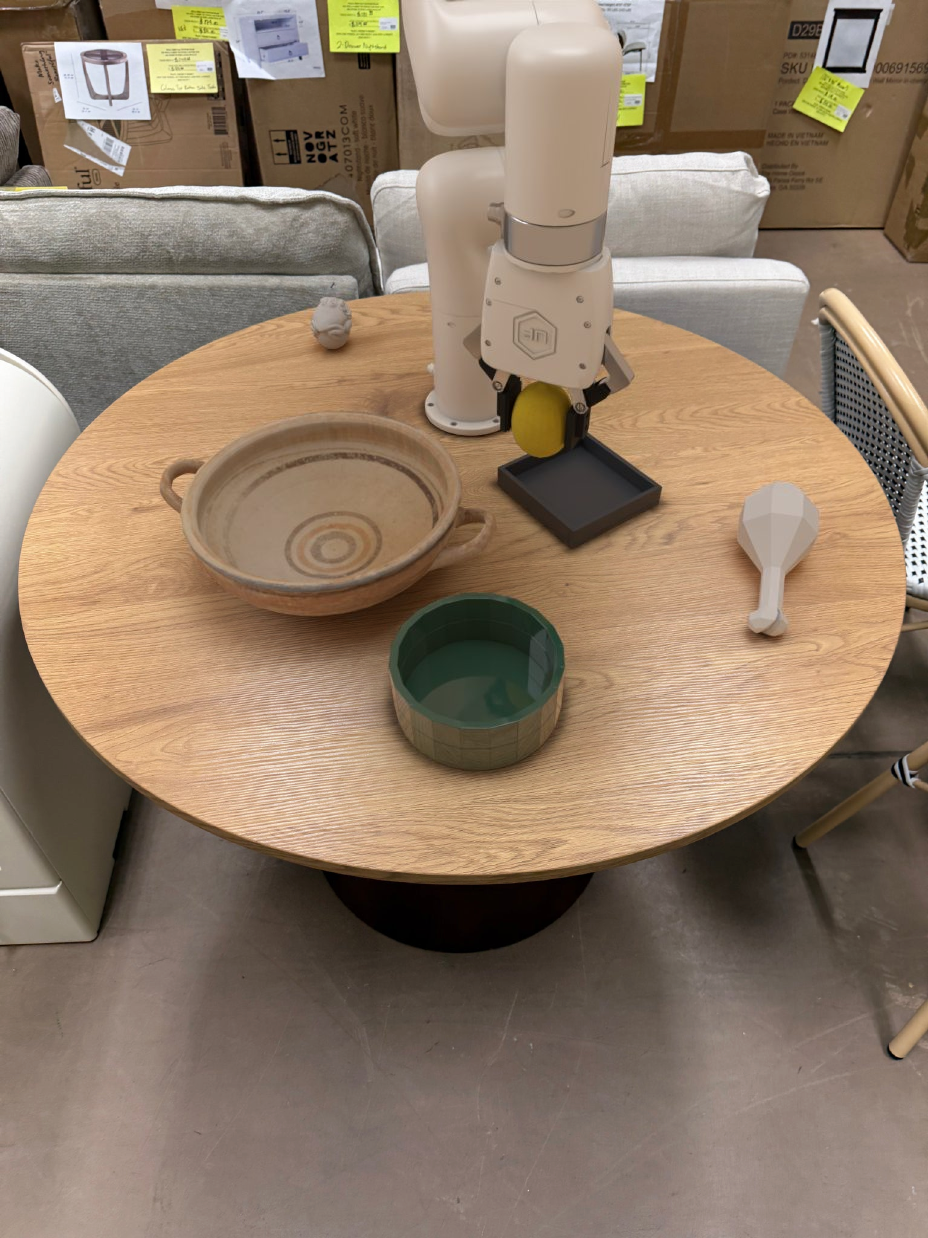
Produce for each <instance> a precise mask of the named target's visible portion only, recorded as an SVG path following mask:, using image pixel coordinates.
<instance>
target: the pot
mask: <svg viewBox="0 0 928 1238" xmlns="http://www.w3.org/2000/svg"><path fill="white" fill-rule="evenodd" d="M391 642H392V643H391V644H390V649H389V658H388V672H389V673H388V675H389V679H390V687H391V693H392V700H393V707H394V710H395V713H396V717H397V721H398V724H399V727H400V729H401V730H402V732H403V734H404V735H405V737H406V739H407V740H408V741H409V742H410V744H412V745H413V747H415V748H416V749H417V750H418V751H419V752H420V753H421V754H423V755H424V756H426V757H428V758H429V759H430V760H433V761H435V762H437V763H439V764H441V765H444V766H448V767H450V768H455V769H460V770H464V771H465V770H467V771H489V770H496V769H500V768H504V767H507V766H511V765H514V764H516V763H519V762H520V761H522V760H525V759H526V758H528V757H529V756H531V755H532V754H533V753H535V752H536V751H537V750H539V749H540V748H541V747H542V746H543V745H544V744H545V743H546V741H547V740H548V739H549V738H550V736H551V735H552V733H553V731H554V729H555V728H556V725H557V722H558V721H559V716H560V712H561V709H562V703H563V695H564V685H565V675H566V656H565V655H566V654H565V645H564V643H563V642H562V639H561V637H560V635H559V633H558V631H557V629H556V627H555V626H554V624H553V623H551V622H550V621H549V619H547V618H546V617H545V615H543V614H542V613H541V612H540V611H539V610H538V609H537V608H534V607H532V606H531V605H529V604H527V603H525V602H523V601H521V600H519V599H517V598H514V597H511V596H506V595H501V594H497V593H493V592H463V593H458V594H454V595H450V596H449V595H448V596H445V597H440V598H439V599H436V600H435V601H433V602H431V603H429V604H427V605H425V606H423V607H421V608H419V609H418V610H416V611H415V612H414V613H413V614H412V615H410V617H409V618H408V619H406V620H405V622H404V623H402V624H401V626H400V627H399V630H398V631H397V633H396V635H395V637H394V638H393V640H392V641H391Z"/></svg>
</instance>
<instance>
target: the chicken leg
mask: <svg viewBox="0 0 928 1238" xmlns="http://www.w3.org/2000/svg"><path fill="white" fill-rule="evenodd" d="M737 525H738V526H737V533H736V536H737V537H736V541H737V543H738V544H739V545H740V547H741V548H742V549H743V550H744V552H745V553H746V555H747V556H748V557H749V559H750V560H751V562H752V563H753V565H754V566H755V567H756V569H757V570H758V571H759V572H760V574H761V575H760V584H759V596H758V606H757V609H755V610H753V611H752V612H750V613H749V614H748V617H747V624H746V625H747V628H748V629H749V630H751V631H752V632H753V633H755V634H758V633H762V634H765V635H768V636H772V637H776V636H779V635H782V634H784V633H786V632H787V630H788V627H789V621H788V617H787V616H786V615H785V614H784V612H783V604H784V593H785V592H784V590H785V578H786V576H787V575H788V574H789V573H790V572H791V571H792V570H793V569H794V568H795V567H796V566H798V564H799V563H801V561H803V560H804V559H805V558H807V556H808V555H809V554H810V553H811V552H812V550H813V548H814V545H815V543H816V541H817V538H818V536H819V533H820V532H819V529H820V509H819V508H818V507H817V506H816V504H814V503H813V501H812V500H811V499H810V498H809V497H808V496H807V495H806V493H805V492H804V491H803V490H802V489H800V488H799V486H798V485H796V484H795V483H793V482H787V481H781V480H780V481H779V480H776V481H773V482H772V483H768V484H765V485H762V486H761V487H760V488H758V489H757V490H755V491H754V492H753V493H751V494H749V495H748V496H746V497H745V498H744V501H743V505H742V508H741V510H740V514H739V517H738V524H737Z"/></svg>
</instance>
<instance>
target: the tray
mask: <svg viewBox="0 0 928 1238" xmlns="http://www.w3.org/2000/svg"><path fill="white" fill-rule="evenodd" d="M496 480H497V481H496V482H497V485H498V486H499V487H500V488H501V489H502V490H503V491H505V492H506V493H507V494H508V496H510V497H511V498H513V500H514V501H516V502H517V503H518V504H519V505H520V506H521V507H523V508H524V509H525V510H526V511H528V513H530V514H531V515H532V516H533V517H534V518H535V519H536V520H538V521H539V522H540V523H541V524H542V525H543V526H545V527H546V528H547V529H548V530H549V531H550V532H552V534H554V535H555V536H556V537H557V538H558V539H559V540H561V541H562V542H563V543H564V544H565V545H567V546H568V547H569V549H571V550H573V549H575V548H577V547H578V546H580V545H582V544H585V543H587V542H589V541H590V540H592V539H594V538H596V537H598V536H600V535H602V534H604V533H605V532H608V531H609V530H612V529H613V528H615V527H617V526H619V525H621V524H624V523H625V522H627V521H630V520H631V519H633V518H635V517H637V516H639V515H641V514H642V513H644V512H647V511H648V510H651V509H652V508H654V507H656V506H658V505H659V504H660V501H661V497H662V491H663V486H662V485H661V484H659V483H658V482H656V481H655V480H654V479H653V478H651V477H649V475H647V474H646V473H644V472H643V471H642V470H640V469H639V468H637V467H636V466H635V465H633V464H632V463H630V461H628V460H627V459H625V458H623V456H621V455H620V454H618V453H617V452H615V451H614V450H613V449H612V448H610V447H609V446H607V445H606V444H605V443H603V442H602V441H600V440H599V439H598V438H596V437H595V436H594V435H592V434H591V433H589V431H588V432H587V435H586V436H585V438H584V439H580V438H579V440H578V441H577V443H576V444H575V446H574V448H573V449H572V450H568V449H566V448H565V447H563V448H562V449H561V450H560V451H559V452H557V453H555V454H554V455H551V456H548V457H541V458H539V457H535V456H531V455H529V454H527V453H526V454H524V455H521V456H520V457H517V458H515V459H512V460H510V461H508V462H506V463H504V464H501V465H499V466H497V479H496Z"/></svg>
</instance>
